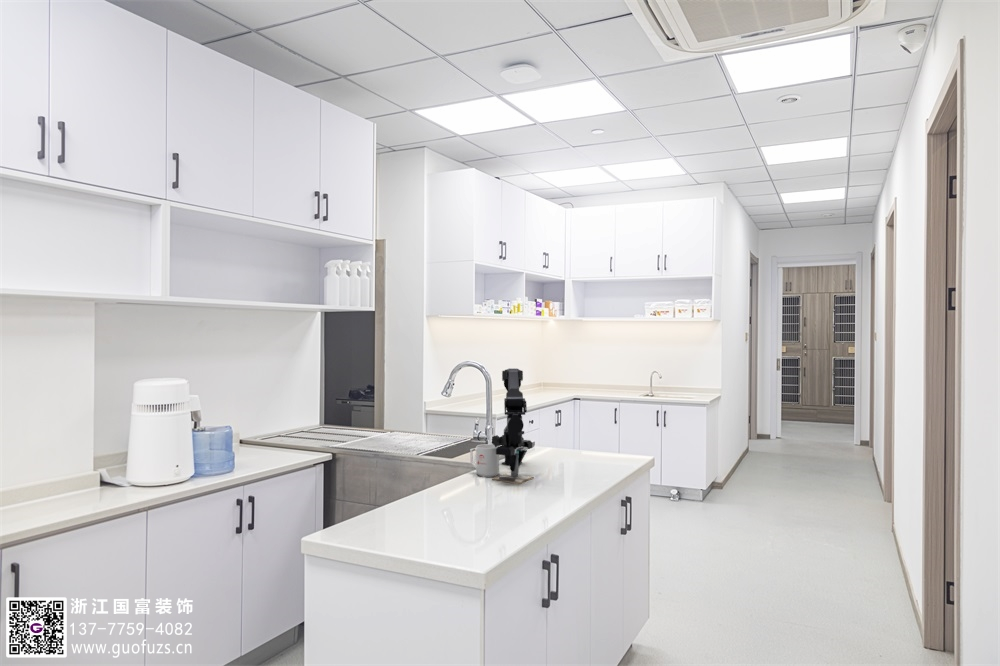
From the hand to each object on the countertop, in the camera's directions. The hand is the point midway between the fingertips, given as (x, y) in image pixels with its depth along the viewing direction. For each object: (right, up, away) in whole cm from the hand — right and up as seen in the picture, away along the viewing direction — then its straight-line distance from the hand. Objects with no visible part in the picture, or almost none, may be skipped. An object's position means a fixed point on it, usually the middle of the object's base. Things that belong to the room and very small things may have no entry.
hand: (514, 470), depth 251 cm
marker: (0, -2, 0) cm, 2 cm away
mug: (-12, -4, +9) cm, 15 cm away
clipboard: (-1, -3, +1) cm, 4 cm away
